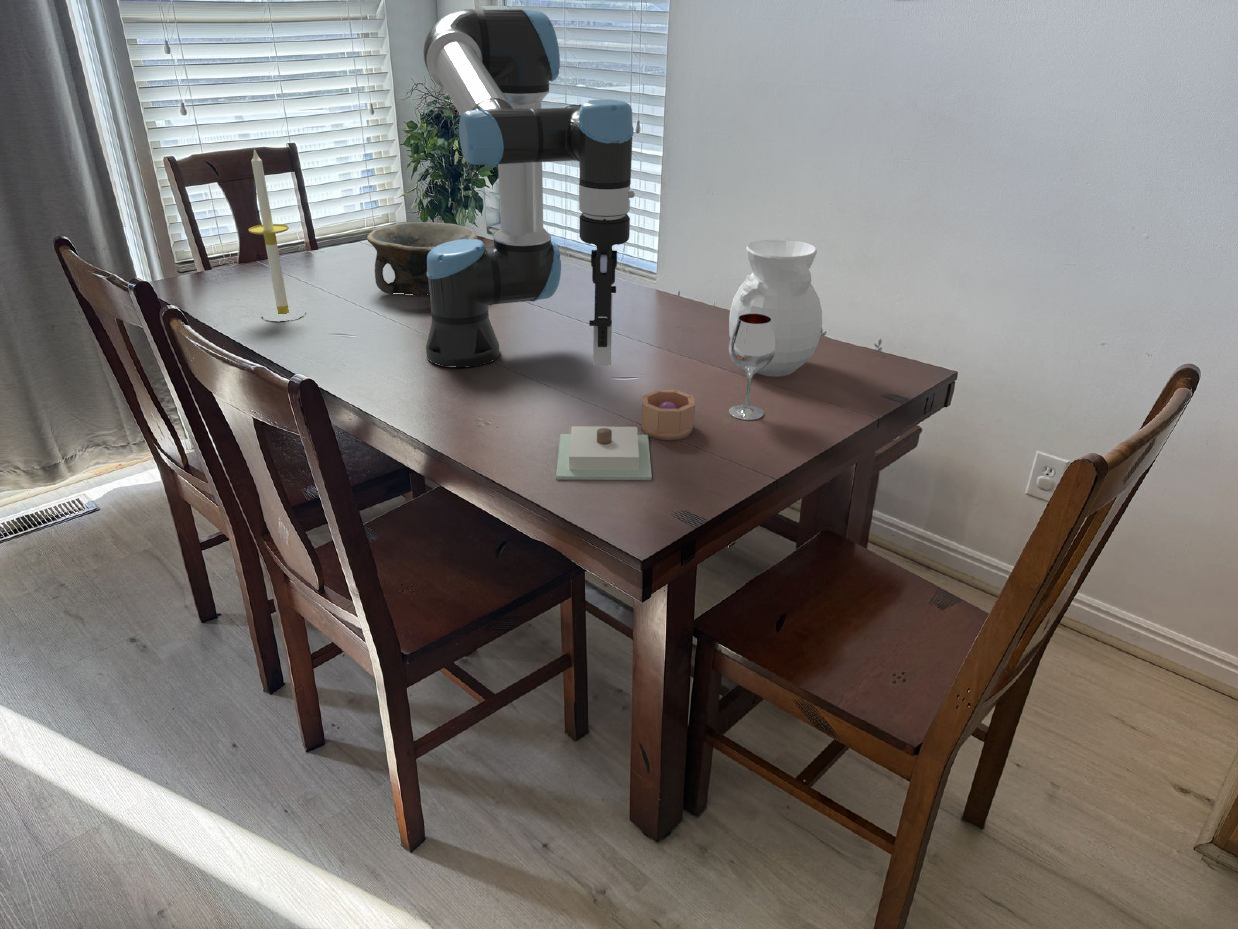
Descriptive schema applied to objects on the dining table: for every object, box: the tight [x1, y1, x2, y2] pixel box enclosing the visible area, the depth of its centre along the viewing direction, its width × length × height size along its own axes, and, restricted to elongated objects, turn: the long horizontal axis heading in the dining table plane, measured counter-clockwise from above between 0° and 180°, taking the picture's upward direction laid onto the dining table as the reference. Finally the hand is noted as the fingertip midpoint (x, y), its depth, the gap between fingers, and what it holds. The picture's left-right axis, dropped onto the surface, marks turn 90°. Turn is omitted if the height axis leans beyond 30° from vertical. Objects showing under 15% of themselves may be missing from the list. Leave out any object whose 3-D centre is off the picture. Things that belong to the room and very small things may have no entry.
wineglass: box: [728, 314, 776, 421], centre depth 154 cm, size 8×8×18 cm
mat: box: [555, 433, 652, 481], centre depth 142 cm, size 15×15×1 cm
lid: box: [569, 425, 639, 471], centre depth 141 cm, size 11×11×4 cm
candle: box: [248, 147, 290, 314], centre depth 194 cm, size 10×10×38 cm
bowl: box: [366, 221, 479, 296], centre depth 219 cm, size 27×26×15 cm
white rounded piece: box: [728, 239, 823, 377], centre depth 172 cm, size 19×18×25 cm
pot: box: [640, 389, 696, 441], centre depth 150 cm, size 9×9×6 cm
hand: (602, 347), depth 138 cm, fingers open, 13 cm apart
